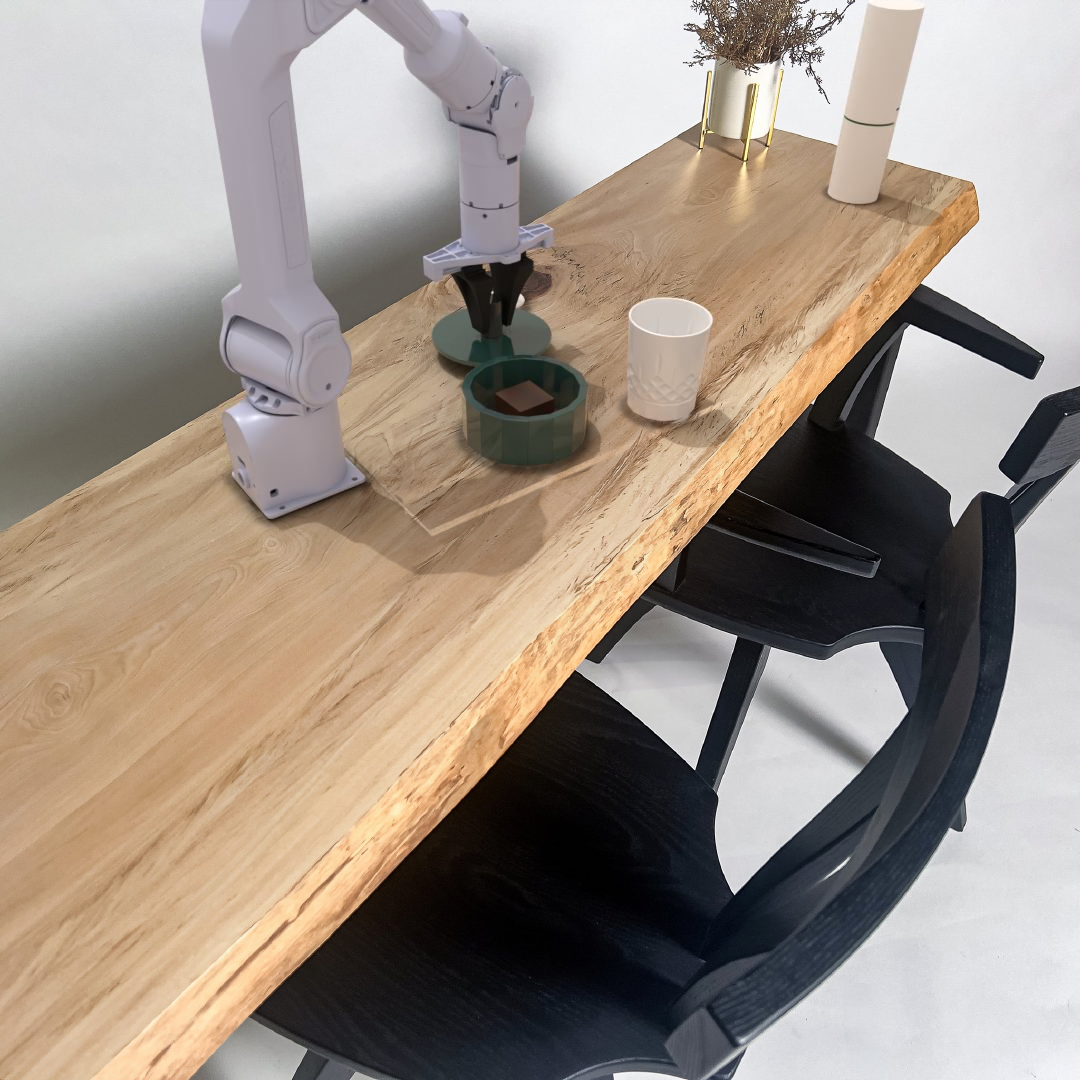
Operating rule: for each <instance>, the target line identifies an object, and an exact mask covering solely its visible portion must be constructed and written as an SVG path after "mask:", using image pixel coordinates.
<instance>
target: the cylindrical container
mask: <svg viewBox="0 0 1080 1080" xmlns="http://www.w3.org/2000/svg"><path fill="white" fill-rule="evenodd" d="M925 7H926V5H925V4H924V3H922V2H920V1H917V0H868V1H867V5H866V10H865V15H864V19H863V23H862V24H863V25H862V28H861V33H860V38H859V42H858V47H857V52H856V57H855V61H854V65H853V71H852V75H851V80H850V85H849V90H848V94H847V97H846V104H845V108H844V113H843V118H842V121H841V122H842V123H841V127H840V132H839V136H838V140H837V141H838V142H837V146H836V151H835V155H834V160H833V165H832V170H831V174H830V179H829V184H828V188H827V194H828V196H829V197H831V198H832V199H834V200H835V201H839V202H842V203H847V204H853V205H864V204H871V203H874V202H876V201H877V200H878V197H879V193H880V190H881V185H882V181H883V178H884V174H885V169H886V165H887V161H888V158H889V153H890V149H891V146H892V141H893V138H894V137H893V136H894V133H895V128H896V125H897V121H898V117H899V113H900V108H901V105H902V100H903V96H904V92H905V88H906V84H907V81H908V76H909V72H910V68H911V63H912V60H913V56H914V52H915V48H916V45H917V44H916V43H917V40H918V37H919V31H920V28H921V24H922V19H923V16H924V12H925Z"/></svg>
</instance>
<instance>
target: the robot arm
mask: <svg viewBox="0 0 1080 1080" xmlns="http://www.w3.org/2000/svg"><path fill="white" fill-rule="evenodd" d="M355 9H356V10H357V11H358V12H360V13H361V14H362V15H363V16H364V17H365V18H367V19H369V20H370V21H371V22H372V23H373V24H374V25H376V26H377V27H378V28H379V29H381V31H383V32H384V33H386V34H387V35H388V36H390V37H391V38H392V39H393V40H394V41H396V42H397V43H398V44H400V45H401V46H402V48H403V50H402V52H403V61H404V65H405V66H406V69H407V70H408V71H409V73H410V74H411V75H412V76H413V77H415V78H416V79H417V80H418V81H419V82H420V83H421V84H422V85H423V86H425V88H427V90H429V91H430V92H431V93H432V94H434V95H435V96H436V97H437V98H438V99H439V100H440V101H441V108H442V111H443V115H444V117H445V119H446V120H447V122H451V123H453V124H455V125H457V148H458V152H457V153H458V176H459V206H460V207H459V208H460V209H459V211H460V238H458V239H456V240H455V241H453V242H451V243H449V244H448V245H446V246H444V247H442V248H440V249H438V250H436V251H434V252H432V253H430V254H427V255H423V256H422V262H423V275H424V276H425V277H427V278H428V279H430V280H431V281H432V282H434V283H436V282H439V281H442V280H444V276H448V275H450V276H451V278H452V280H453V281H454V283H455V285H456V286H457V288H458V291H460V293H461V297H462V298H463V301H464V303H465V306H466V308H467V310H468V313H469V316H470V320H471V324H472V328H474V329H475V330H477V331H478V332H479V333H481V334H486V333H488V331H489V321H490V317H489V307H490V298H491V293H492V292H493V293H494V294H499V295H501V296H502V297H503V325H505V326H506V327H507V326H510V325H511V323H512V319H513V315H514V311H515V308H516V305H517V302H518V299H519V296H520V294H522V291H523V289H524V287H525V285H526V283H527V282H528V280H529V278H530V277H531V275H532V274H533V272H534V270H535V269H534V268H535V261H534V259H532V258H530V257H528V256H527V252H530V251H533V250H536V249H539V248H543V249H547V250H548V249H550V248H553V247H554V237H555V236H554V233H555V229H554V228H552V227H551V226H549V225H547V224H545V223H543V222H541V223H536V224H531V225H523V226H522V225H521V226H520V168H521V167H520V166H521V164H520V162H521V161H520V159H521V158H520V155H521V153H522V152H523V151H524V148H525V147H524V146H525V145H526V135H527V129H528V124H529V122H530V120H531V118H532V113H533V109H534V104H535V96H534V95H532V90H531V86H530V83H529V82H528V80H527V79H526V78H525V77H524V75H523V73H522V72H521V70H519V69H517V68H514V67H511V66H505V65H502V63H500V60H498V58H497V57H496V56H495V55H496V51H495V50H494V49H493V48H492V47H491V46H490V45H487V44H484V43H483V42H481V40H480V39H479V38H478V37H477V36H476V35H475V34H474V33H473V32H472V31H471V30H470V29H469V28H468V25H469V19H468V18H467V16H466V15H465V14H464V13H463V12H461V11H457V10H456V11H455V10H451V9H448V10H447V9H433V10H432V9H431V8H430V7H429V6H428V5H427V3H426V2H425V1H424V0H204V5H203V12H202V19H201V25H200V41H201V48H202V49H201V50H202V57H203V61H204V67H205V75H206V79H207V85H208V91H209V92H208V93H209V98H210V105H211V110H212V115H213V121H214V122H213V123H214V127H215V135H216V140H217V145H218V146H217V147H218V152H219V159H220V164H221V169H222V171H221V172H222V177H223V182H224V183H223V184H224V188H225V195H226V201H227V207H228V212H229V218H230V219H229V220H230V224H231V230H232V236H233V244H234V250H235V255H236V261H237V262H236V263H237V267H238V272H239V273H238V274H239V279H240V283H238V285H236V286H235V287H234V288H232V289H231V290H230V291H228V293H227V294H226V295H225V296H224V297H223V298H222V299H221V302H220V303H221V308H222V317H223V318H222V325H221V331H220V336H219V343H218V344H219V354H220V357H221V359H222V361H223V364H224V365H225V366H226V367H227V368H228V370H230V371H231V372H232V373H234V374H235V375H239V377H240V382H241V386H242V389H243V390H245V391H246V393H247V394H246V396H244V398H243V399H241V400H240V401H239V402H238V403H235V404H234V405H233V406H231V407H229V408H227V409H225V410H224V411H223V412H222V415H221V423H222V428H223V431H224V436H225V440H226V446H227V450H228V454H229V459H230V463H231V467H232V472H231V477H232V478H233V479H234V481H235V482H236V483H237V484H238V485H239V487H240V488H241V489H242V490H243V491H244V492H245V494H246V495H247V496H248V497H249V498H250V500H251V501H252V502H253V503H254V504H255V505H256V506H257V507H258V509H259V510H260V511H261V512H262V514H263V515H264V516H265V517H266V518H267V519H271V520H273V519H276V518H278V517H281V516H284V515H286V514H289V513H291V512H294V511H296V510H299V509H301V508H304V507H306V506H309V505H312V504H313V503H317V502H318V501H321V500H324V499H327V498H329V497H331V496H334V495H337V494H339V493H341V492H344V491H346V490H349V489H351V488H353V487H356V486H359V485H361V484H363V483H365V482H366V475H365V474H364V473H363V472H362V471H361V470H360V469H359V468H358V467H357V466H356V465H354V463H353V462H351V461H350V459H348V457H346V453H345V446H344V440H343V439H344V438H343V432H342V425H341V419H340V409H339V404H338V397H340V396H341V395H342V392H344V389H345V387H346V386H347V384H348V382H349V379H350V376H351V371H352V364H353V363H352V362H353V360H352V359H353V358H352V351H351V348H350V346H349V344H348V341H347V340H346V339H345V337H344V336H343V334H342V330H341V324H340V316H339V315H340V314H339V313H338V312H337V310H336V309H335V307H334V306H333V305H332V303H331V302H330V301H329V299H328V298H327V297H326V296H325V295H324V293H323V292H322V290H320V288H319V286H318V285H317V283H315V279H314V271H313V269H314V268H313V260H312V253H311V252H312V251H311V243H310V233H309V227H308V225H309V224H308V218H307V217H308V215H307V209H306V201H305V200H306V199H305V190H304V183H303V174H302V166H301V157H300V156H301V155H300V148H299V139H298V130H297V123H296V121H297V120H296V114H295V104H294V97H293V96H294V95H293V94H294V93H293V86H292V78H291V77H292V76H291V67H292V64H293V62H295V60H296V58H297V57H298V55H300V53H301V52H302V51H303V50H304V49H307V48H309V47H310V46H312V45H313V44H314V43H316V41H318V40H319V39H320V38H321V37H322V36H324V35H326V33H328V32H329V31H330V30H332V28H334V27H335V26H336V25H337V24H338V23H340V22H341V21H342V20H343V19H344V18H346V17H347V16H348V15H349V14H350V13H352V12H353V11H354V10H355ZM485 264H488V265H489V270H490V275H489V274H488V273H487V270H486V268H484V265H485Z"/></svg>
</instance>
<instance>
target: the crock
mask: <svg viewBox="0 0 1080 1080" xmlns="http://www.w3.org/2000/svg"><path fill="white" fill-rule="evenodd" d="M529 380H530V381H531V382H532V383H534V384H535V385H537V386H538V387H539V388H541V389H542V390H544V391H545V392H546V393H548V394H549V395H551V396H552V397H553V398H555V405H554V408H556V409H558V410H556V411H554V412H553V413H551V414H546V415H538V416H531V417H524V416H513V415H505V414H502V413H499V412H496V411H495V410H493V408H495V393H497V392H500V391H502V390H505V389H507V388H510V387H513V386H515V385H518V384H521V383H523V382H526V381H529ZM460 392H461V393H460V394H461V415H462V416H461V418H462V419H461V420H462V432H463V436H464V438H465V441H466V444H467V445H468V446H469V447H470V448H471V449H472V450H474V451H475V452H476V453H477V454H478V455H479V456H481V457H483V458H485V459H489V460H491V461H494V462H497V463H499V464H502V465H511V466H520V467H521V466H522V467H532V466H540V465H546V464H547V465H548V464H553V463H555V462H557V461H560V460H563V459H564V458H566V457H569V456H571V455H573V454H574V452H576V451H577V450H578V449H579V448H580V447H581V446H582V445H583V443H584V442H585V436H586V431H587V419H588V402H589V383H588V382H587V379H586V378H585V377H584V374H583V373H582V372H581V371H579V370H578V369H577V368H575V367H573V366H572V365H571V364H569V363H567V362H566V361H562V360H559V359H556V358H553V357H549V356H545V355H540V356H536V355H524V354H520V355H511V356H503V357H498V358H495V359H492V360H489V361H487V362H484V363H481V364H479V365H478V366H476V367H475V366H474V368H472V369H471V370H470V371H469V372H468V373H466V374H465V376H464V379H463V382H462V383H461V387H460Z"/></svg>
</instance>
